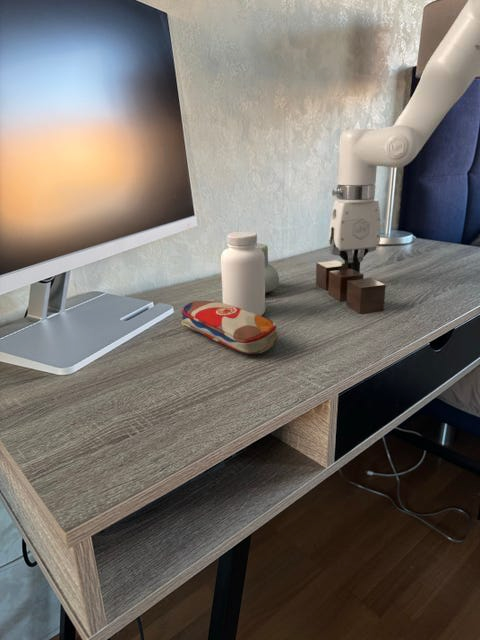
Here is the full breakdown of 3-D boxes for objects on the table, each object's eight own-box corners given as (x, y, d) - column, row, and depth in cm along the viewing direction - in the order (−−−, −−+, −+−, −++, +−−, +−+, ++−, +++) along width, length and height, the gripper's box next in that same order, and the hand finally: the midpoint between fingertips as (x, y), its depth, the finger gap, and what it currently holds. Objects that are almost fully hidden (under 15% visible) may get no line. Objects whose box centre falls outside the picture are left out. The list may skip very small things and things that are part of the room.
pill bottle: (258, 322, 79) (255, 238, 74) (216, 318, 82) (211, 237, 77) (270, 307, 86) (269, 230, 81) (232, 304, 89) (228, 229, 83)
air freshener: (229, 287, 100) (227, 243, 96) (263, 282, 102) (262, 239, 99) (245, 301, 90) (243, 253, 87) (282, 296, 93) (282, 248, 89)
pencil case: (218, 369, 63) (216, 337, 61) (176, 325, 80) (174, 298, 78) (285, 352, 67) (285, 321, 66) (232, 313, 84) (231, 288, 82)
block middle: (349, 291, 94) (350, 268, 92) (362, 298, 89) (363, 274, 87) (328, 294, 93) (328, 271, 91) (339, 301, 88) (340, 277, 86)
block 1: (335, 281, 101) (336, 260, 99) (346, 287, 96) (347, 265, 94) (315, 284, 100) (316, 262, 98) (325, 290, 95) (326, 267, 93)
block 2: (369, 302, 87) (370, 277, 85) (383, 310, 82) (385, 284, 81) (346, 305, 86) (347, 280, 84) (359, 314, 81) (361, 287, 79)
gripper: (331, 197, 87) (328, 287, 94) (398, 192, 91) (390, 279, 97) (315, 194, 94) (313, 278, 100) (377, 189, 97) (372, 271, 104)
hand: (351, 278), depth 99 cm, fingers closed
